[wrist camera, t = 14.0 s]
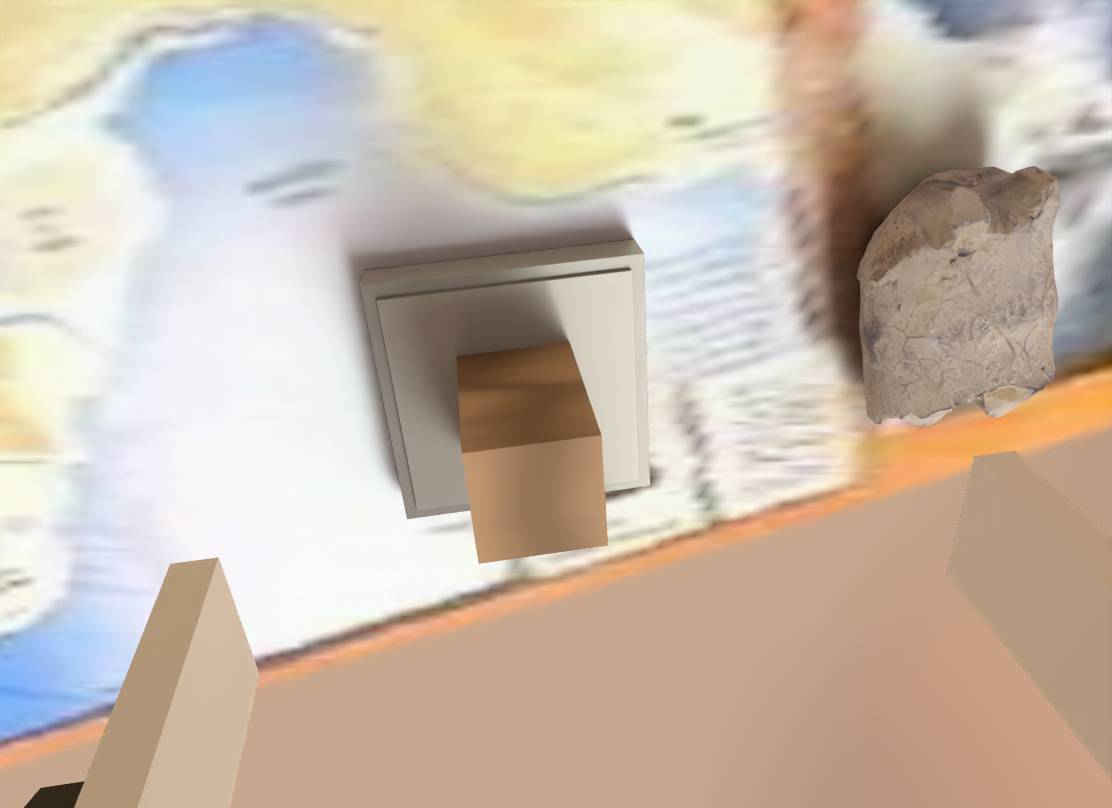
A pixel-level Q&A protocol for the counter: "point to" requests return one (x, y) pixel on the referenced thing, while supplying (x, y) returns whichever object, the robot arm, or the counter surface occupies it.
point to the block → (530, 453)
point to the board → (503, 324)
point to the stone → (960, 296)
